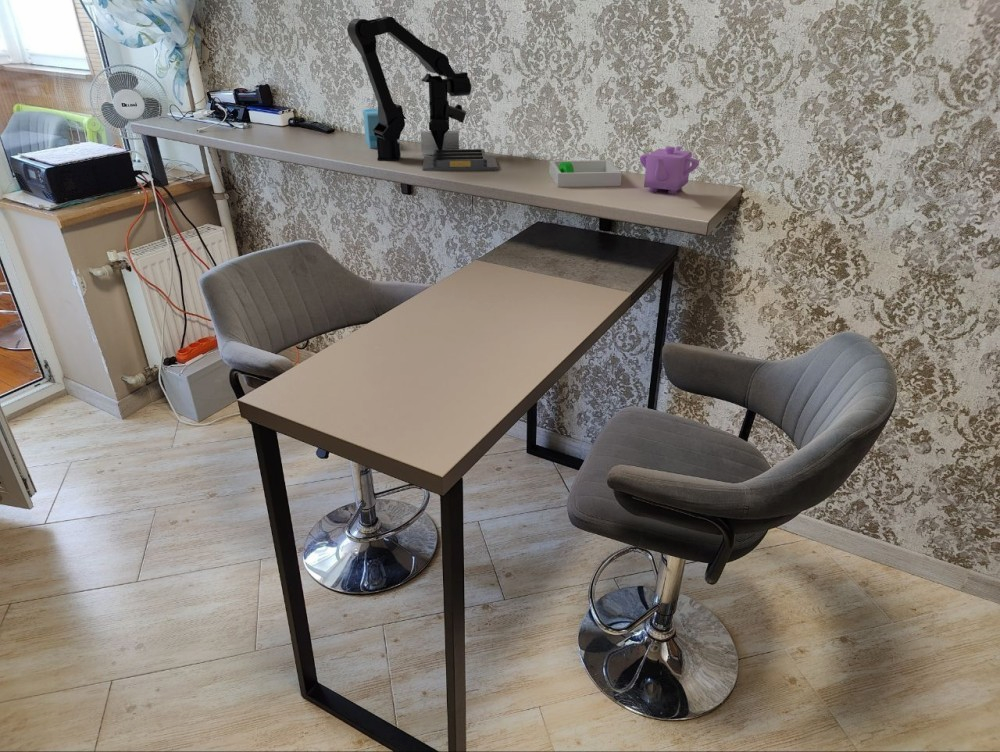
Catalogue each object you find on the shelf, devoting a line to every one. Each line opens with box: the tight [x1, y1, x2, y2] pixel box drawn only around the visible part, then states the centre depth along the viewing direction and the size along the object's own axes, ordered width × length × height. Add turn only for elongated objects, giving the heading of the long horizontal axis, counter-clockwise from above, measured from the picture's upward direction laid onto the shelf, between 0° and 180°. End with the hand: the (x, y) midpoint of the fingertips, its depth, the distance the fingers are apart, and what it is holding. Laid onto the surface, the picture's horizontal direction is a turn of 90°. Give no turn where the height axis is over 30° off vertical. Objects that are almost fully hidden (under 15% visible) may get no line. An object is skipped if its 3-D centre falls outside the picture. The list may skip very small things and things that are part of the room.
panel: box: [420, 130, 460, 156], centre depth 220 cm, size 12×3×7 cm, turn 94°
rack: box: [421, 148, 499, 172], centre depth 208 cm, size 22×18×3 cm
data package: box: [362, 108, 379, 150], centre depth 230 cm, size 12×4×12 cm, turn 17°
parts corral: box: [548, 159, 623, 188], centre depth 190 cm, size 17×17×4 cm
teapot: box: [639, 145, 700, 195], centre depth 177 cm, size 15×13×11 cm
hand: (440, 149), depth 221 cm, fingers closed on panel, 3 cm apart
